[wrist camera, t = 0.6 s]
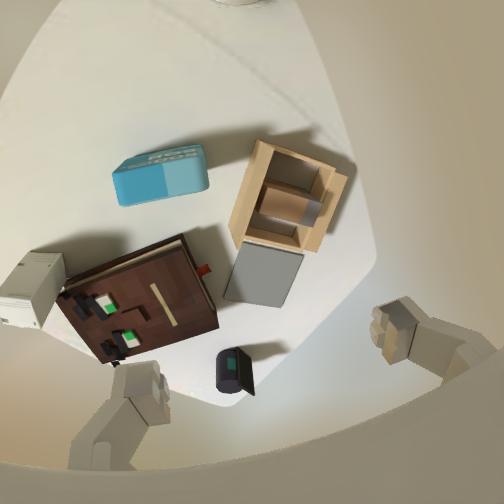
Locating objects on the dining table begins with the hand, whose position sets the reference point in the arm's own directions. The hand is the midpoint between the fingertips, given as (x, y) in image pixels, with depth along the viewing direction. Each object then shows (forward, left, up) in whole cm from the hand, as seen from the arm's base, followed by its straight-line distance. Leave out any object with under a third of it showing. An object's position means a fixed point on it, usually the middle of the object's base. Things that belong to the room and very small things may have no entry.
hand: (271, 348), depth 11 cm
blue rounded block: (+3, -6, -42) cm, 42 cm away
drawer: (+3, +15, -41) cm, 44 cm away
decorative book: (+28, -6, -42) cm, 51 cm away
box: (+3, +13, -41) cm, 44 cm away
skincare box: (+26, -25, -42) cm, 55 cm away
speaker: (+41, +16, -42) cm, 61 cm away
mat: (+19, +16, -41) cm, 48 cm away
